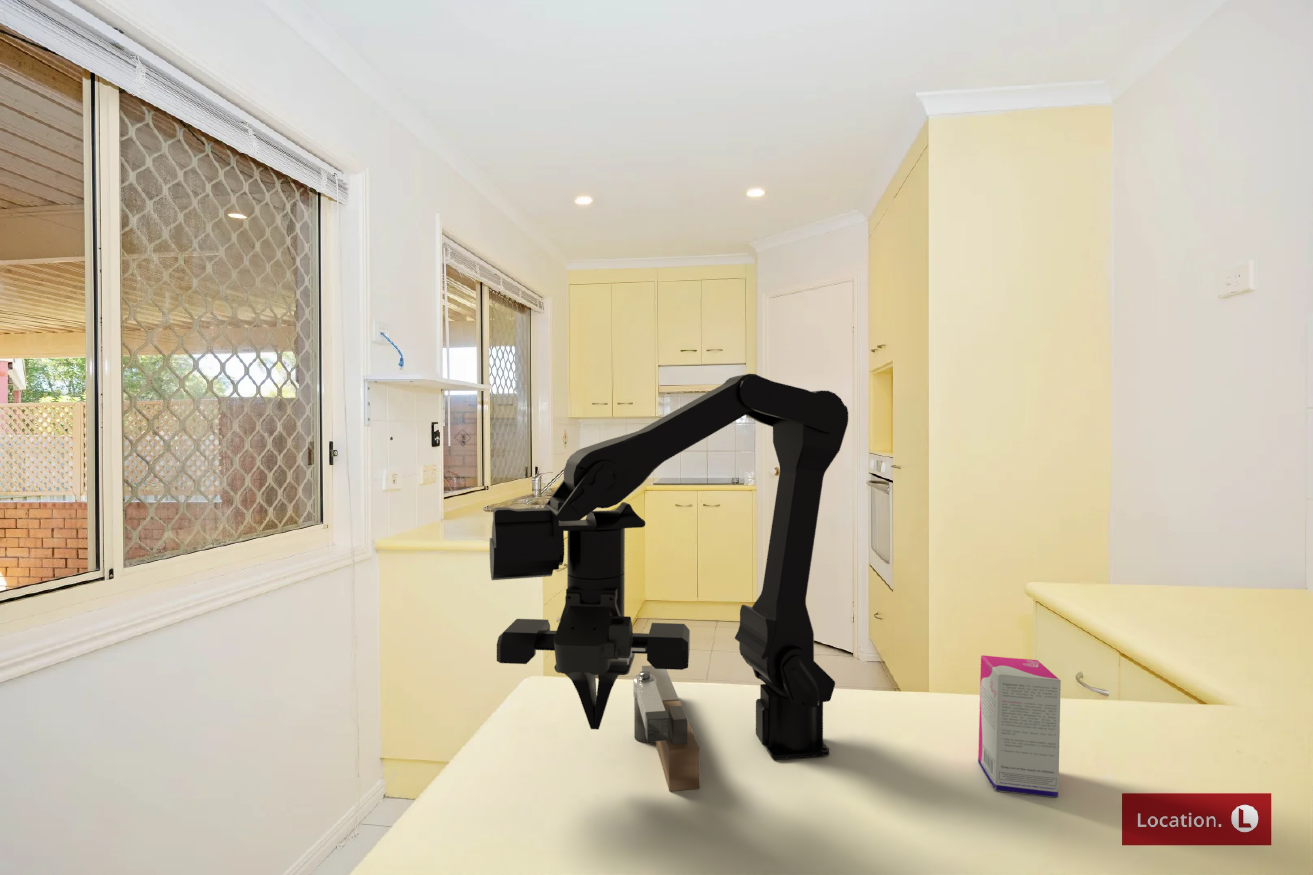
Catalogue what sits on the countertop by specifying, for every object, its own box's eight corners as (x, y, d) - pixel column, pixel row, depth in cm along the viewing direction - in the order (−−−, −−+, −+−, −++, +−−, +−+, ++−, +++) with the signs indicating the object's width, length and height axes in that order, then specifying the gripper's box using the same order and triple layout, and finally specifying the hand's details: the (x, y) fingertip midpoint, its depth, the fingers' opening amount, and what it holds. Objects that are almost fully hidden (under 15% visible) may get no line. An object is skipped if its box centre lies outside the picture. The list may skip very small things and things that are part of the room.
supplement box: (1061, 798, 60) (1062, 679, 60) (994, 791, 61) (994, 674, 61) (1037, 766, 66) (1038, 657, 65) (976, 760, 67) (976, 653, 67)
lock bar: (632, 692, 73) (632, 669, 73) (654, 690, 73) (654, 667, 73) (645, 741, 61) (645, 714, 61) (671, 739, 62) (671, 712, 62)
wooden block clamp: (664, 694, 83) (664, 645, 83) (699, 788, 62) (699, 722, 62) (625, 696, 83) (625, 647, 83) (646, 792, 61) (646, 726, 61)
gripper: (475, 591, 56) (475, 765, 56) (686, 596, 54) (685, 776, 54) (514, 564, 67) (514, 710, 67) (690, 568, 65) (689, 717, 65)
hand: (595, 727), depth 63 cm, fingers closed
